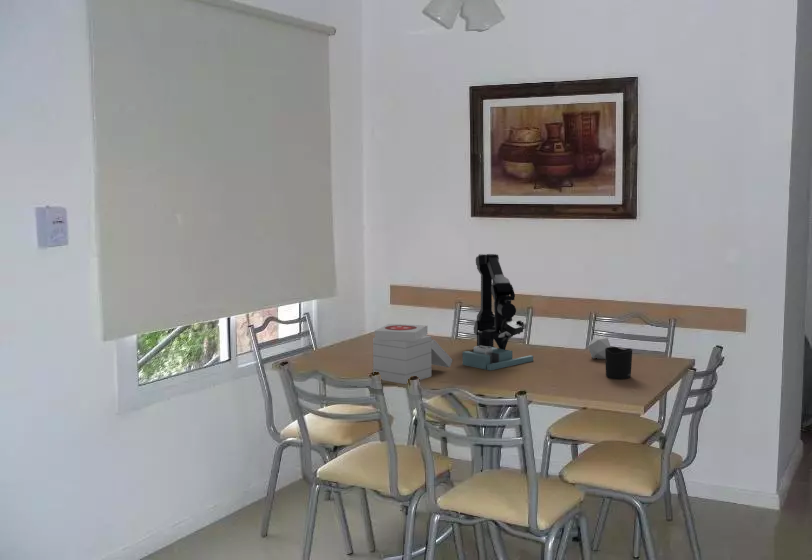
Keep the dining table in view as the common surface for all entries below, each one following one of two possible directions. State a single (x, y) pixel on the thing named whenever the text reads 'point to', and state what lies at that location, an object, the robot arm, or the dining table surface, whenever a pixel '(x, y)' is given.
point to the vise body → (485, 361)
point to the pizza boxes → (406, 353)
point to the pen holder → (618, 363)
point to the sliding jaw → (500, 355)
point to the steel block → (483, 350)
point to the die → (598, 347)
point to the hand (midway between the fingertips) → (502, 353)
